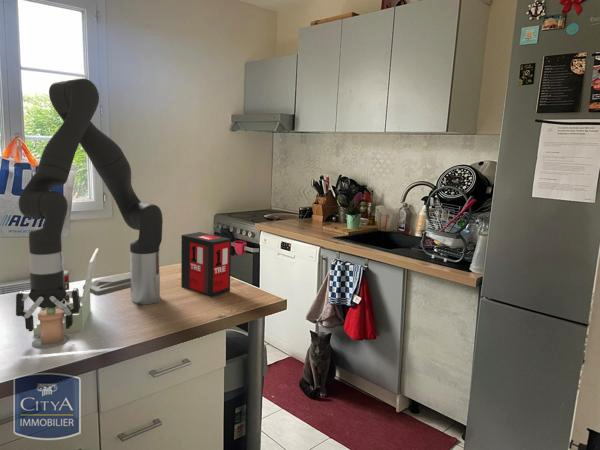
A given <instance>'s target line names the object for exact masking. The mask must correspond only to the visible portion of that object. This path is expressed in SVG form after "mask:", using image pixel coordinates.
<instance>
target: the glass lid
mask: <svg viewBox="0 0 600 450" xmlns="http://www.w3.org/2000/svg"><path fill="white" fill-rule="evenodd" d="M98 253H99V248H95V250H94V252H93V254H92V256H91V258H90V259H89V262H88V268H87V272H86V277H85V282H84V285H85V286H84V285H83V286H84V289H83V290H82V291H83V292H82V295H81V296H82V300H81V304H83V303H84V301H85V299H86V296H87V294H88V291H89V289H90V287H91V283H92V282H93V276H94V272H95V267H96V263H97V257H98Z"/></svg>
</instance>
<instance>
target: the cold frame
mask: <svg viewBox="0 0 600 450" xmlns="http://www.w3.org/2000/svg"><path fill="white" fill-rule="evenodd" d="M82 296H83V295H79V299H80V309H79V312H77V313H73V323H72V326H70V328H69V329H66V317H65V316H66V313H65V312H64V317H63V333H64V334H65V333H66V334H68V333H78V332H84V330H85V327H86V324H87V322H88V319H89V316H90V314H91V310H92V309H91V292H90V289H89V291H88V294H87V296H86V299H85V301H84V303H83V304H81V300H82ZM68 305H69V306H70V307H71V308H72V307H73V301H72V302H70V303H68ZM47 308H48V307H47ZM47 308H44V310H46V309H47ZM55 309H60V308H59V307H58V306H56V307H55ZM32 332H33V336H39V335H40V336H41V333H40V320H38V319H37V321H36V324H35V325H34V329H33V331H32Z"/></svg>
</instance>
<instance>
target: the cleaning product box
mask: <svg viewBox="0 0 600 450" xmlns="http://www.w3.org/2000/svg"><path fill="white" fill-rule="evenodd" d="M180 255H181V262H180V263H181V267H180V268H181V271H180V272H181V284H180V286H181V287H180V288H182V289H185V290H188V291H192V292H195V293H198V294H199V295H204V296H206V297H209V298H216V297H218V296H222V295H223V294H226V293H230V292H231V267H232V266H231V259H232V258H231V256H232V238H229V237H225V236H220V235H217V234H211V233H206V232H202V231H198V232H192V233H187V234H185V233H184V234H181V254H180ZM229 291H230V292H229Z"/></svg>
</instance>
